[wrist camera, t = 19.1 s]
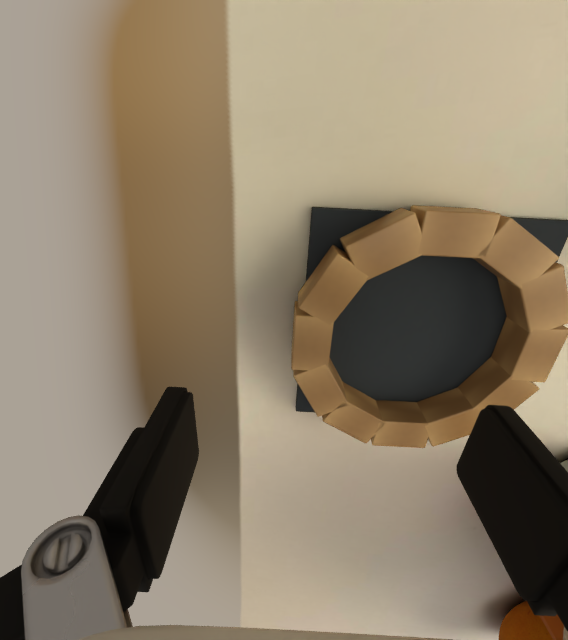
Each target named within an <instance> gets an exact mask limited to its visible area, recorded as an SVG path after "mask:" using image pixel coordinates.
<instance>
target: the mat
mask: <svg viewBox="0 0 568 640" xmlns="http://www.w3.org/2000/svg"><path fill="white" fill-rule="evenodd" d="M391 212H393V211H381V210H362V209H343V208H324V207H312V213H311V225H310V237H309V250H308V262H307V275H306V281H307V280H308V279H309V277H310V276H311V274H312V273H313V271H314V270H315V269H316V267H317V266H318V264H319V263H320V262H321V260H322V259H323V257H324V256H325V254H326V253H327V252H328V250H329V249H330V247H331V246H332V245H335V246H336V247H338V248H339V249H341V250H342V251H344V252H345V250H344V248H343V245H342V243H341V241H340V238H341V237H343V236H345V235H347V234H349V233H351V232H353V231H355V230H357V229H359V228H361V227H363V226H365V225H367V224H369V223H371V222H373V221H375V220H377V219H379V218H381V217H383V216H385V215H387V214H389V213H391ZM510 218H512V219H513V220H514V221H516V222H517V223H518V224H519V225H521V226H522V227H523V228H524V229H525V230H527V231H528V232H529V233H530V234H532V235H533V236H534V237H535V238H536V239H538V240H539V241H540V242H541V243H543V244H544V245H545V246H546V247H547V248H549V249H550V250H551V251H552V252H553V253H555V254H556V255H557V256H558V257H559V256H560V254H561V251H562V249H563V247H564V244H565V242H566V240H567V237H568V220H554V219H534V218H515V217H510ZM345 253H346V252H345ZM557 261H558V260H557ZM557 261H556V263H557ZM506 317H507V315H506V311H505V307H504V303H503V299H502V295H501V291H500V287H499V283H498V279H497V276H496V275H494V274H493V273H492V272H490V271H489V270H488V269H486V268H485V267H484V266H482V265H481V264H480V263H478V262H477V261H476V260H474V259H473V258H462V257H442V256H423V255H422V256H419V257H417V258H415V259H413V260H411V261H408V262H406V263H404V264H402V265H400V266H398V267H395V268H393V269H391V270H389V271H387V272H385V273H382V274H380V275H378V276H376V277H374V278H371V279H369V280H367V281H366V282H365V284H364V285H363V286H362V287H361V289H360V290H359V291H358V292H357V294H356V295H355V296H354V297H353V299H352V300H351V301H350V302H349V304H348V305H347V306H346V307H345V309H344V310H343V311H342V312H341V314H340V315H339V316H338V318H337V319H336V320H335V321H334V325H333V333H332V340H331V348H330V356H329V357H330V359H331V361H332V363H333V365H334V367H335V369H336V370H337V372H338V374H339V376H340V378H341V380H342V382H344V383H346V384H348V385H350V386H351V387H353V388H355V389H357V390H358V391H360V392H362V393H364V394H365V395H367V396H369V397H371V398H373V399H374V400H385V401H405V402H418V401H421V400H424V399H427V398H430V397H432V396H435V395H438V394H441V393H443V392H446V391H449V390H452V389H455V388H457V387H458V386H460V385H461V384H462V383H463V382H464V381H465V380H466V379H467V378H468V377H469V376H471V375H472V374H473V373H474V372H475V371H476V370H477V369H478V368H479V367H480V366H482V365H483V364H484V363H485V362H486V361H487V360H488V359H489V358H490V357H491V356H492V354H493V351H494V348H495V346H496V343H497V341H498V338H499V335H500V333H501V330H502V328H503V325H504V322H505V320H506ZM296 411H300V412H315V411H314V409H313V408H312V406H311V404H310V403H309V401H308V400H307V398H306V396H305V395H304V393H303V391H302V390H301V388H300V386H299V385H298V386H297V398H296Z"/></svg>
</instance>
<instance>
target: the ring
mask: <svg viewBox="0 0 568 640" xmlns="http://www.w3.org/2000/svg"><path fill="white" fill-rule="evenodd" d="M340 241H341V243H342V245H343V248H344V250H345V252H346V253H345V252H344V251H342V250H341V249H339V248H338V247H336V246H335V245H332V246H331V247H330V249H329V250H328V252H327V253H326V254H325V256H324V257H323V259H322V260H321V262H320V263H319V264H318V266H317V267H316V269H315V270H314V271H313V273H312V274H311V276H310V277H309V279H308V280H307V281H306V283H305V284H304V286H303V287H302V288H301V290H300V291H299V293H298V301H295V305H294V320H293V336H292V361H291V369H292V370H293V376H294V378H295V380H296V381H297V383H298V385H299V386H300V388H301V390H302V391H303V393H304V395H305V396H306V398H307V400H308V401H309V403H310V404H311V406H312V408H313V409H314V411H315V413H316V414H317V416H318V417H319V416H322V417H323V421H324V422H325V423H327V424H329V425H331V426H333V427H335V428H337V429H339V430H341V431H343V432H345V433H346V434H348V435H350V436H352V437H354V438H356V439H358V440H360V441H362V442H364V443H367V442H368V441H369V440H370V439H371V441H372V445H377V446H397V447H417V448H425V446H426V443H427V440H429V442H430V444H431V445H432V446H436V445H439V444H443V443H446V442H449V441H452V440H455V439H458V438H461V437H464V436H467V435H470V434H471V431H472V429H473V427H474V424H475V422H476V420H477V417H478V415H479V413H480V411H481V410H482V409H485V407H486V406H488V405H503V406H509V407H511V408H512V409H513V410H514V409H515V408H516V407H518V406H519V405H520V404H521V403H523V402H524V401H525V400H526V399H528V398H529V397H530V396H531V395H533V394H534V393H535V392H536V391H538V390H539V387H537V386H536V385H535V384H534V383H533V382H545V381H546V379H547V377H548V375H549V373H550V371H551V369H552V367H553V365H554V363H555V361H556V358H557V356H558V354H559V352H560V350H561V348H562V346H563V344H564V342H565V340H566V338H567V336H568V328H566V327H565V326H563V325H564V324H567V323H568V293H567V286H566V279H565V273H564V266H563V265H561V264H558V263H556V261H557V260H558V259H559V257H558V256H557V255H556V254H555V253H553V252H552V251H551V250H550V249H549V248H547V247H546V246H545V245H544V244H543V243H541V242H540V241H539V240H538V239H536V238H535V237H534V236H533V235H532V234H530V233H529V232H528V231H527V230H525V229H524V228H523V227H522V226H521V225H519V224H518V223H517V222H516V221H514V220H513V219H512V218H510V217H506V216H501V215H500V214H499V213H495V212H490V211H486V210H481V209H476V208H456V207H436V206H416V205H412V206H411V208H410V211H408V210H406V209H403V208H399V209H397V210H395V211H393V212H391V213H389V214H387V215H385V216H383V217H381V218H379V219H377V220H375V221H373V222H371V223H369V224H367V225H365V226H363V227H361V228H359V229H357V230H355V231H353V232H351V233H349V234H347V235H345V236H343V237H341V238H340ZM422 255H423V256H442V257H462V258H473V259H474V260H476V261H477V262H478V263H480V264H481V265H482V266H484V267H485V268H486V269H488V270H489V271H490V272H492V273H493V274H494V275H496V276H497V279H498V283H499V287H500V291H501V295H502V299H503V303H504V307H505V311H506V315H507V317H506V320H505V322H504V325H503V328H502V330H501V333H500V335H499V338H498V341H497V343H496V346H495V348H494V351H493V354H492V356H491V357H490V358H489V359H488V360H487V361H486V362H485V363H484V364H483V365H482V366H480V367H479V368H478V369H477V370H476V371H475V372H474V373H473V374H472V375H471V376H469V377H468V378H467V379H466V380H465V381H464V382H463V383H462V384H461V385H460V386H458V387H457V388H455V389H452V390H449V391H446V392H443V393H441V394H438V395H435V396H432V397H430V398H427V399H424V400H421V401H418V402H405V401H385V400H374V399H373V398H371V397H369V396H367V395H365V394H364V393H362V392H360V391H358V390H357V389H355V388H353V387H351V386H350V385H348V384H346V383H344V382H342V380H341V378H340V376H339V374H338V372H337V370H336V369H335V367H334V365H333V363H332V361H331V359H330V357H329V356H330V348H331V340H332V333H333V325H334V321H335V320H336V319H337V318H338V316H339V315H340V314H341V312H342V311H343V310H344V309H345V307H346V306H347V305H348V304H349V302H350V301H351V300H352V299H353V297H354V296H355V295H356V294H357V292H358V291H359V290H360V289H361V287H362V286H363V285H364V284H365V282H366V281H367V280H369V279H371V278H374V277H376V276H378V275H380V274H382V273H385V272H387V271H389V270H391V269H393V268H395V267H398V266H400V265H402V264H404V263H406V262H408V261H411V260H413V259H415V258H417V257H419V256H422Z"/></svg>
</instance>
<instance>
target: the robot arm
mask: <svg viewBox="0 0 568 640" xmlns="http://www.w3.org/2000/svg"><path fill="white" fill-rule="evenodd" d="M198 454H199V448H198V439H197V430H196V420H195V411H194V402H193V394H192V393H190V392H187V389H186V388H182V387H167V389H166V390H165V392H164V393H163V395H162V397H161V399H160V401H159V403H158V404H157V406H156V408H155V410H154V411H153V413H152V415H151V417H150V419H149V420H148V422H147V424H146V426H145V428H136V429H135V430H134V431H133V432H132V434H131V436H130V437H129V439H128V440H127V442H126V444H125V445H124V447H123V449H122V451H121V452H120V454H119V456H118V458H117V459H116V461H115V462H114V464H113V466H112V467H111V469H110V471H109V472H108V474H107V476H106V478H105V479H104V481H103V483H102V484H101V486H100V488H99V489H98V491H97V493H96V494H95V496H94V498H93V500H92V501H91V503H90V505H89V506H88V508H87V510H86V512H85V513H84V515H83V516H73V517H68V518H66V519H63V520H61V521H58V522H57V523H55V524H53V525H52V526H50V527H49V528H48V529H46V530H45V531H44V532H43V533H41V534H40V535H39V536H38V537H37V538H36V539H35V541H34V542H33V543H32V545H31V546H30V547H29V548H28V550H27V552H26V555H25V557H24V559H23V562H22V565H20V566H19V567H17V568H15V569H14V570H12V571H10V572H9V573H7V574H6V575H4V576H2V577H1V578H0V640H451V639H434V638H418V637H401V636H384V635H368V634H351V633H333V632H315V631H297V630H278V629H260V628H241V627H213V626H182V625H161V626H136V627H133V626H132V622H131V619H130V615H129V612H128V608H129V607H130V606H132V604H133V602H134V600H135V597H136V594H137V592H149V589H150V586H151V584H152V581H153V579H158V578H159V577H160V575H161V573H162V570H163V567H164V564H165V561H166V557H167V554H168V551H169V548H170V545H171V542H172V539H173V536H174V533H175V529H176V526H177V523H178V520H179V517H180V514H181V511H182V508H183V505H184V502H185V498H186V495H187V492H188V489H189V486H190V483H191V480H192V477H193V473H194V470H195V467H196V464H197V461H198ZM457 474H458V477H459V479H460V481H461V483H462V485H463V487H464V489H465V491H466V493H467V495H468V497H469V499H470V501H471V502H472V504H473V506H474V508H475V510H476V512H477V514H478V516H479V518H480V520H481V522H482V524H483V526H484V528H485V530H486V532H487V534H488V536H489V537H490V539H491V541H492V543H493V545H494V547H495V549H496V551H497V553H498V555H499V557H500V559H501V561H502V563H503V565H504V567H505V569H506V571H507V572H508V574H509V576H510V578H511V580H512V582H513V584H514V586H515V588H516V590H517V592H518V593H519V595H520V596H521V597H522V598H523V599H524V600H526V601H527V602H528V604H529V606H530V608H531V610H532V612H533V614H534V615H540V616H556V615H558V616H559V618H560V620H561V622H562V623H563V625H564V631H563V640H568V472H567V471H566V469H565V468H564V467H563V466H562V465H561V464H560V463H559V461H558V460H557V459H556V458H555V457H554V456H553V455H552V453H551V452H550V451H549V450H548V449H547V448H546V447H545V445H544V444H543V443H542V442H541V441H540V440H539V438H538V437H537V436H536V435H535V434H534V433H533V432H532V430H531V429H530V428H529V427H528V426H527V425H526V424H525V422H524V421H523V420H522V419H521V418H520V417H519V416H518V414H517V413H516V412H515V411H514V410H513V409H512V408H511V407H509V406H503V405H488V406H486V407H485V409H482V410H481V411H480V413H479V415H478V417H477V420H476V422H475V424H474V427H473V429H472V431H471V434H470V436H469V438H468V441H467V443H466V445H465V448H464V450H463V452H462V455H461V457H460V459H459V462H458V464H457Z"/></svg>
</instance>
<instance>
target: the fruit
mask: <svg viewBox="0 0 568 640" xmlns="http://www.w3.org/2000/svg"><path fill="white" fill-rule="evenodd" d="M499 640H553V639H552V637H551V635H550V633H549V631H548V630H547V628H546V626H545V624H544V623H543V621H542V619H541V617H540V615H534V614H533V612H532V610H531V608H530V606H529V604H528V602H527V601H525V602H523V603H521V604H519V605H517V606H515V607H514V608H513V609H512V610H511V611H510V612H509V613H508V614H507V615H506V616H505V618H504V619H503V621H502V624H501V627H500V632H499Z"/></svg>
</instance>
